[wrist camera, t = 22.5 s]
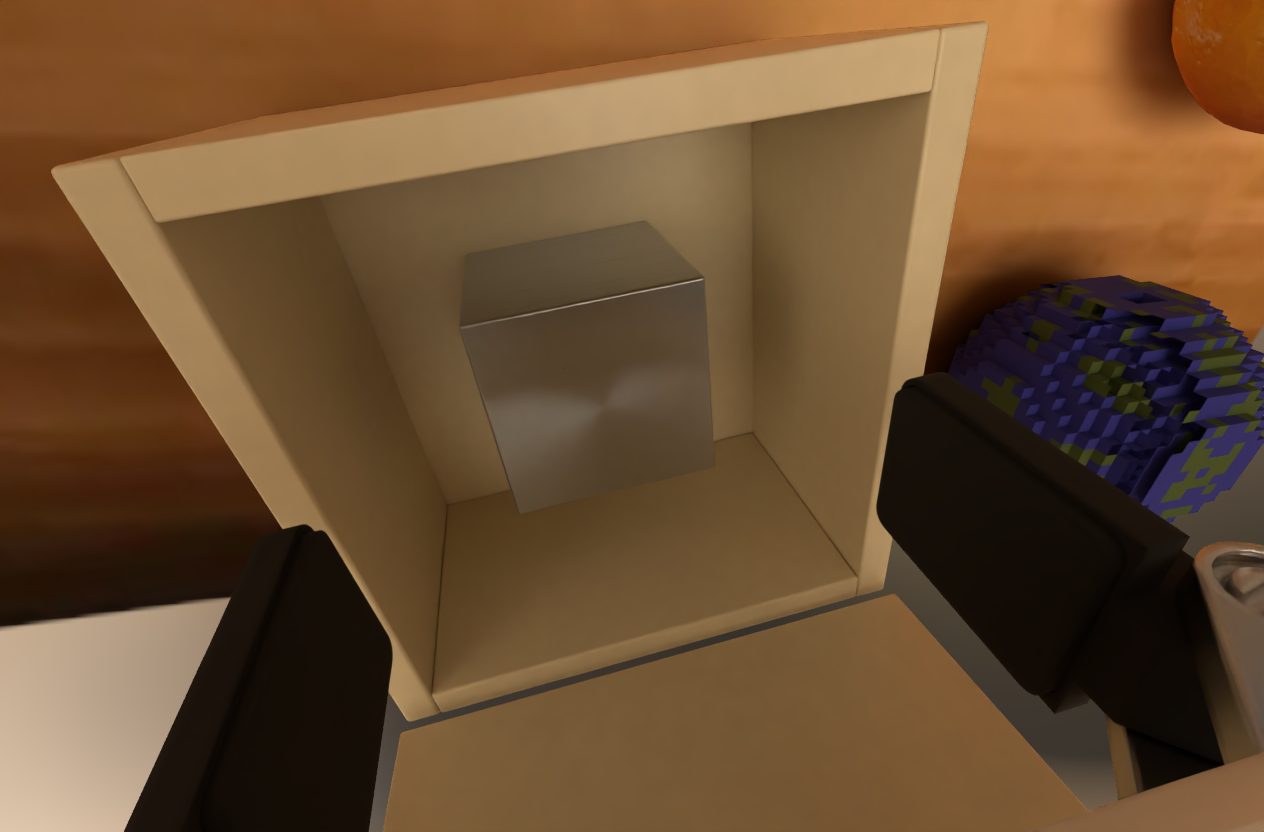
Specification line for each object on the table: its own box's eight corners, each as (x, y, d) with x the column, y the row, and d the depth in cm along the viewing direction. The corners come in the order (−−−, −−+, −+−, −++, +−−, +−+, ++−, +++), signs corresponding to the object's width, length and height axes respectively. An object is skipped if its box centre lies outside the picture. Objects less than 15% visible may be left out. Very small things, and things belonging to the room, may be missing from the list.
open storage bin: (260, 116, 13) (43, 168, 7) (767, 38, 15) (993, 19, 8) (432, 511, 20) (407, 724, 14) (764, 432, 22) (883, 590, 15)
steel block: (465, 253, 15) (457, 326, 11) (646, 219, 16) (705, 276, 11) (510, 409, 18) (518, 515, 14) (663, 376, 18) (715, 467, 14)
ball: (1039, 431, 25) (1227, 555, 19) (885, 455, 24) (1031, 598, 17) (1120, 251, 21) (1400, 333, 14) (938, 267, 19) (1157, 366, 13)
